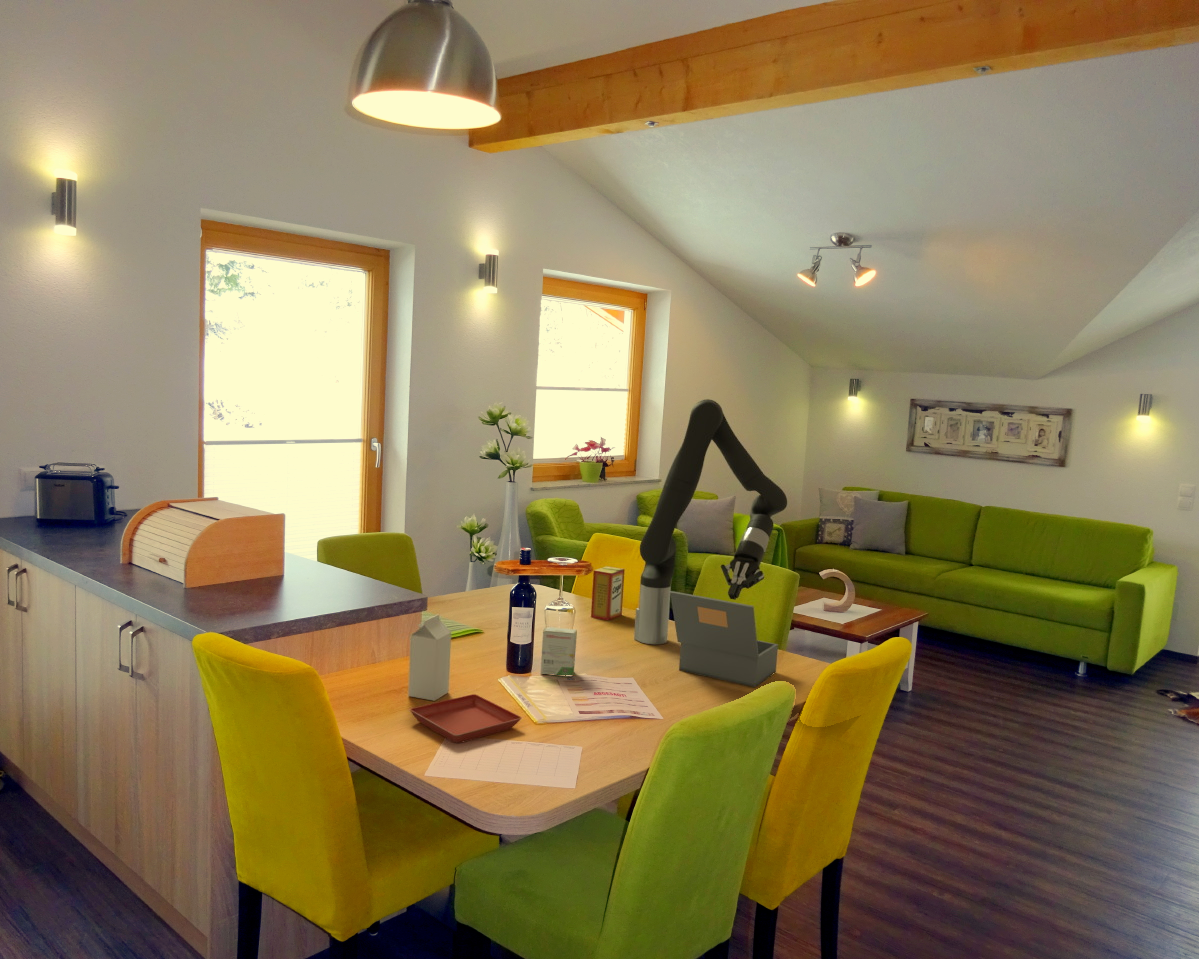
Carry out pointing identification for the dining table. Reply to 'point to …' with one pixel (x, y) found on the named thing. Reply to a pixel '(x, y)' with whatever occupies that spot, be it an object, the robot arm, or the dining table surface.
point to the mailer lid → (715, 624)
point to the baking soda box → (607, 593)
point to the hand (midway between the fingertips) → (732, 597)
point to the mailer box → (730, 663)
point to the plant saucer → (465, 718)
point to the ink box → (558, 651)
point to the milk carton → (429, 660)
